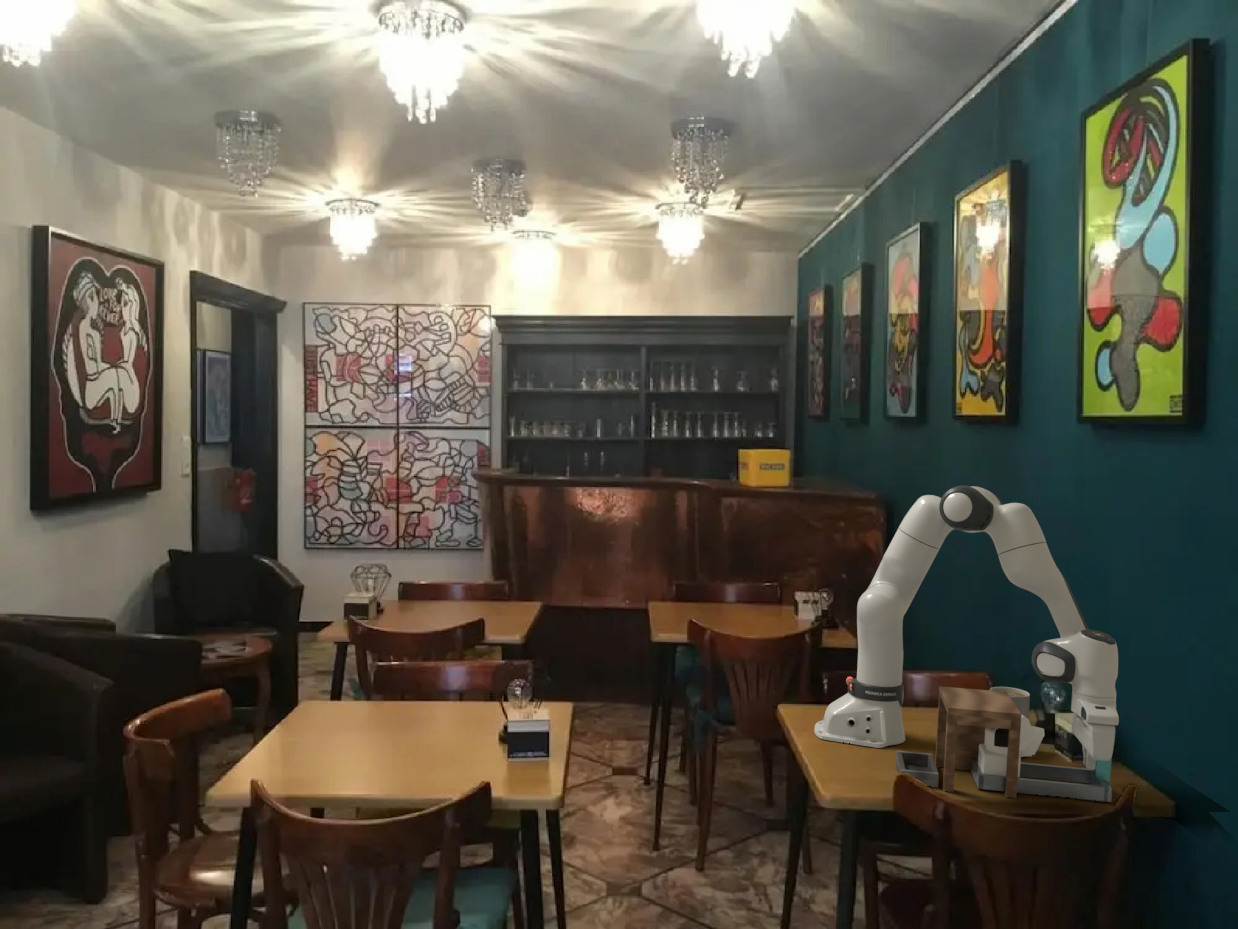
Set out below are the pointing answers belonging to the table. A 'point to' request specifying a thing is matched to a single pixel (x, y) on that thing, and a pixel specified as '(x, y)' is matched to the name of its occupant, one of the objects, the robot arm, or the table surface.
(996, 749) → the container
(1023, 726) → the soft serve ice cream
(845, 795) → the table surface
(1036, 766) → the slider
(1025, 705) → the coffee mug
